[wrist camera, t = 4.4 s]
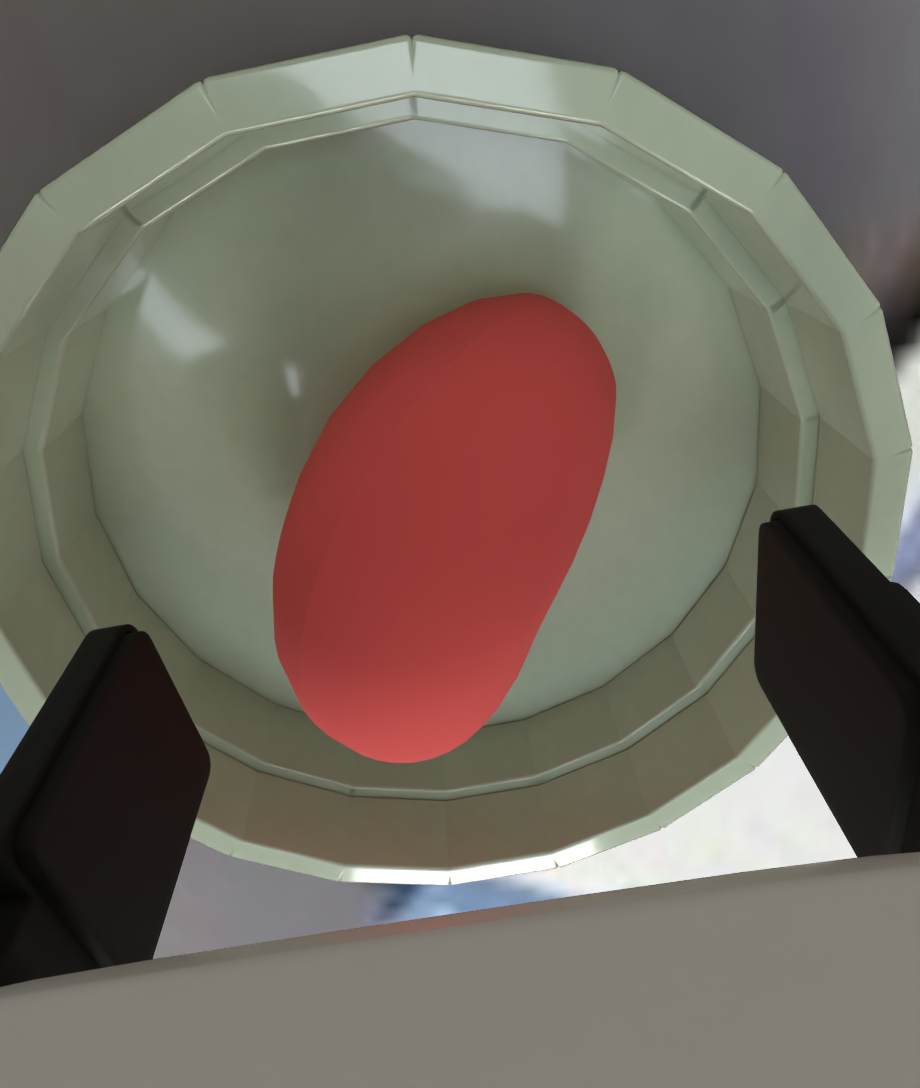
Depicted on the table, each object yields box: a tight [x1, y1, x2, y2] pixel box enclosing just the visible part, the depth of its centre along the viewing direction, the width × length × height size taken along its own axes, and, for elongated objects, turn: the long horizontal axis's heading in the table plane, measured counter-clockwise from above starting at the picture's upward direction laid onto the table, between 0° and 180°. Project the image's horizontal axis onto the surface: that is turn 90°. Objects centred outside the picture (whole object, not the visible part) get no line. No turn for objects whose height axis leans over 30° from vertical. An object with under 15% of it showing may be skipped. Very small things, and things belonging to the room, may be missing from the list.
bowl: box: [0, 34, 912, 885], centre depth 14 cm, size 15×15×4 cm
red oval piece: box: [273, 293, 616, 763], centre depth 14 cm, size 5×9×6 cm, turn 150°
